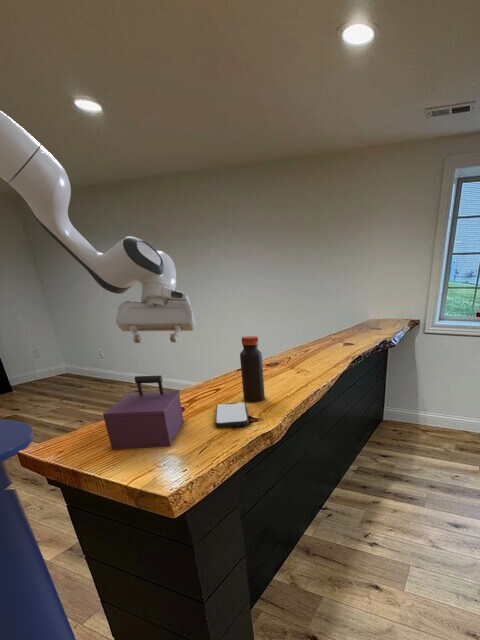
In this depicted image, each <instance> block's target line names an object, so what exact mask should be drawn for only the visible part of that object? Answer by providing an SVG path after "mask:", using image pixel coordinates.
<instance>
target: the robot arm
mask: <svg viewBox="0 0 480 640" xmlns="http://www.w3.org/2000/svg"><path fill="white" fill-rule="evenodd" d="M0 178H1V179H2V180H3V181H4V182H6V183H7V184H8V185H9V186H10V187H12V188H13V189H14V190H15V191H16V192H17V193H18V194H19V195H20V196H21V198H22V199H23V200H24V201H25V202H26V204H27V205H28V206H29V208H30V212H31V215H32V217H33V218H34V220H35V221H36V222H37V223H38V224H39V226H40V227H42V229H44V231H45V232H46V233H48V235H49V236H50V237H51V238H53V240H54V241H56V242H57V243H58V244H59V245H60V246H61V248H63V249H64V250H65V251H66V252H67V253H68V254H69V255H70V256H72V257H73V258H74V260H75V261H77V262H78V263H79V264H80V265H81V267H83V268H84V269H85V270H86V271H87V272H88V273H89V275H90V276H91V277H92V278H93V280H94V281H95V282H96V283H97V284H98V285H99V286H100V287H101V288H102V289H103V290H106V291H107V292H110V293H113V294H118V295H119V294H121V295H122V294H124V293H126V292H127V291H128V290H130V288H131V287H132V286H133V285H135V284H137V283H141V286H142V287H141V288H142V289H141V297H140V300H133V301H130V300H126V301H124V302H122V303H119V305H118V309H117V310H118V311H117V314H116V317H115V323H116V325H117V327H118V329H120V330H121V332H131V334H132V341H133V343H134V344H141V343H142V337H141V335H140V334H139V332H173V333H170V334H169V340H170V342H171V343H178V338H179V337H180V336H181V335H182V334H183V332H192V331H194V330H195V329H196V319H195V315H194V312H193V309H192V304H191V301H190V298H189V296H188V294H187V293H185V292H182V291H178V290H176V288H177V269H176V266H175V262H174V260H173V258H171V256H170V255H168V253H166V252H164V251H162V250H155V248H154V247H153V246H152V245H150V243H148V242H145V241H144V240H143V239H140V238H138V237H135V236H126V237H124V238H123V239H121V240H120V241H118V242H117V243H116V244H114V245H113V246H112V247H111V248H110V249H108V250H107V251H106V252H104V253H103V252H99V251H98V250H97V249H96V248H94V246H93V245H92V244H91V243H90V242H89V241H88V240H87V239H86V237H84V235H82V234H81V233H80V232H79V230H77V229H76V228H75V227H74V225H73V224H72V222H71V220H70V217H69V206H70V202H71V195H72V187H71V182H70V179H69V176H68V174H67V171H66V169H65V168H64V167H63V166H62V164H61V163H60V162H59V160H57V159H56V158H55V157H54V155H52V154H51V153H50V152H49V151H48V150H47V149H46V148H45V147H44V146H43V145H42V144H41V143H40V142H39V141H38V140H36V139H35V137H34V136H32V135H31V134H30V133H29V132H28V131H27V130H25V129H24V128H23V127H22V126H20V124H18V123H17V122H16V121H14V120H13V119H12V118H11V117H10V116H8V115H7V114H5V113H4V111H2V110H0Z"/></svg>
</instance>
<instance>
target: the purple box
mask: <svg viewBox="0 0 480 640" xmlns="http://www.w3.org/2000/svg"><path fill="white" fill-rule="evenodd" d="M103 421H104V424H105V427H106V432H107V435H108V439H109V443H110V447H111V450H125V449H126V450H127V449H141V448H142V449H143V448H161V447H171V446H172V444H173V442H174V440H175V438H176V437H177V435H178V433H179V431H180V430H181V428H182V426H183V424H184V423H185V421H184V415H183V409H182V402H181V397H180V394H179V395H178V397H177V398H176V399H175V401H174V402H173V403H172V405H171V406H170V407H169V409H168V410H167V411H166V413H165V414H159V415H138V416H116V417H103Z"/></svg>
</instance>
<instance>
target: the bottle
mask: <svg viewBox="0 0 480 640" xmlns="http://www.w3.org/2000/svg"><path fill="white" fill-rule="evenodd" d="M241 345H242V347H243V349H242V350H241V352H240V353H239V362H240V372H241V382H242V383H241V385H242V393H243V394H242V395H243V400H244V401H245V402H249V403H259V402H262V401H264V400H265V398H266V396H265V382H264V380H265V379H264V366H263V365H264V363H263V353H262V352H261V350H259V349H258V347H259V337H258V336H256V335H245V336H244V335H243V336H241Z"/></svg>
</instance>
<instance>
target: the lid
mask: <svg viewBox="0 0 480 640" xmlns="http://www.w3.org/2000/svg"><path fill="white" fill-rule="evenodd" d="M134 382H135V384H136V385H137V391H138V392H135V391H134V392H127V394H125V395H124V396H123V397H122V398H120V399H119V400H117V402H116V403H114V404H113V405H112V406H110V407H109V408H108V409H107V410H105V411H104V412H103V413H102V417H103V418H104V417H116V416H138V415H159V414H165V413H166V411H167V410H168V409H169V407H170V406H171V405H172V403H173V402H174V401H175V399H176V398H177V397H178V395H179V396H180V394H181V393H180V392H181V391H180V390H166V391H165V390H164V388H163V376H162V375H137V376H134ZM142 384H158V390H159V391H143V387H142Z"/></svg>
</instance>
